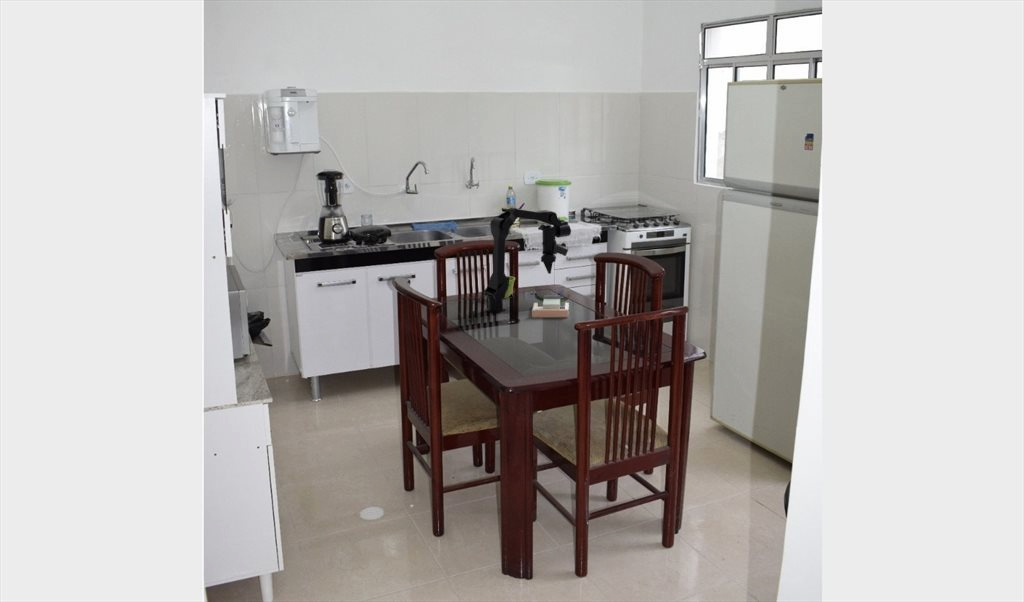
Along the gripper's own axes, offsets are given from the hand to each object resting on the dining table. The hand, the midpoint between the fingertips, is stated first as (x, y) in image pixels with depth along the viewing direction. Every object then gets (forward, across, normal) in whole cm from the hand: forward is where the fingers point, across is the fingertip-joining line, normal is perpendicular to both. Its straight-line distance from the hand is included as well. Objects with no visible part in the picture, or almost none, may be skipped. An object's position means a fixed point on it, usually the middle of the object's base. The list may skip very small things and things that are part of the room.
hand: (549, 273), depth 351 cm
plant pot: (+12, +5, +21) cm, 25 cm away
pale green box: (+12, -18, -2) cm, 22 cm away
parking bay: (+12, -20, -1) cm, 23 cm away
